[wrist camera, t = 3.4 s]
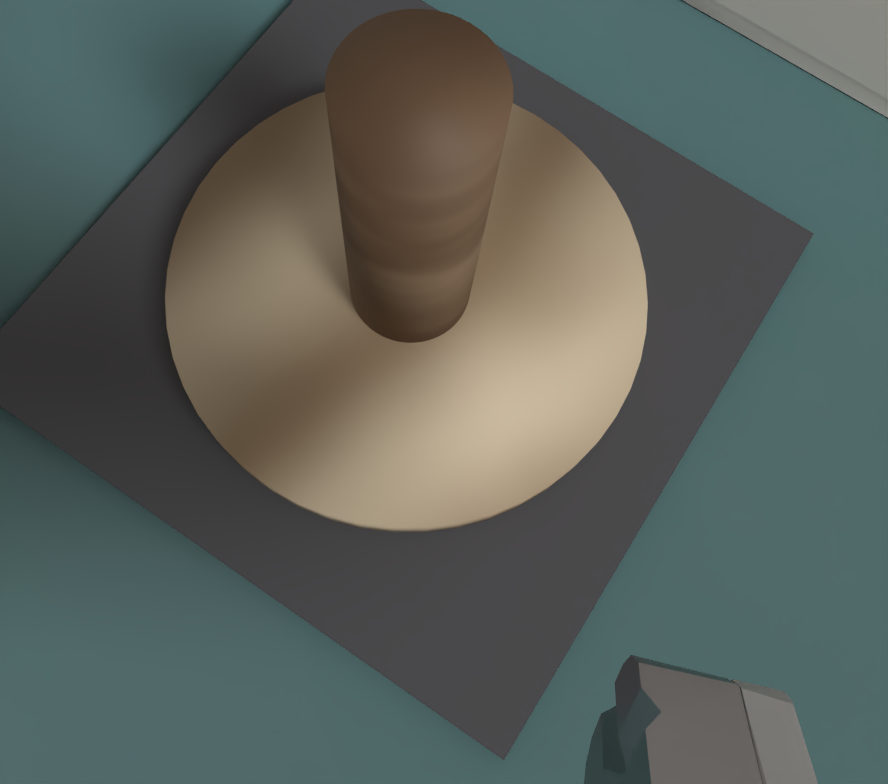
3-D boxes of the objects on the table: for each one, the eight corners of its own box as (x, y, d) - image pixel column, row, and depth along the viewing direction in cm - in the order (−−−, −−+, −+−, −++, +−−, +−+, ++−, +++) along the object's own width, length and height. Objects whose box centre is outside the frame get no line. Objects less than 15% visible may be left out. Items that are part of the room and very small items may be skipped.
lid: (76, 358, 21) (-142, 170, 13) (351, 29, 24) (328, -305, 16) (479, 632, 20) (546, 630, 11) (716, 247, 23) (909, 15, 14)
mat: (-34, 381, 21) (-42, 376, 21) (338, -39, 26) (337, -50, 25) (501, 757, 20) (503, 759, 19) (806, 240, 24) (813, 233, 23)
